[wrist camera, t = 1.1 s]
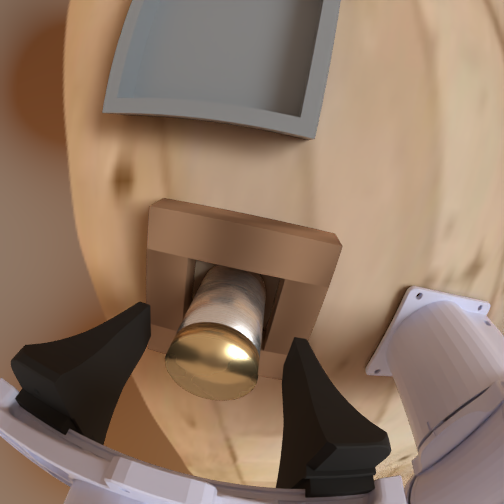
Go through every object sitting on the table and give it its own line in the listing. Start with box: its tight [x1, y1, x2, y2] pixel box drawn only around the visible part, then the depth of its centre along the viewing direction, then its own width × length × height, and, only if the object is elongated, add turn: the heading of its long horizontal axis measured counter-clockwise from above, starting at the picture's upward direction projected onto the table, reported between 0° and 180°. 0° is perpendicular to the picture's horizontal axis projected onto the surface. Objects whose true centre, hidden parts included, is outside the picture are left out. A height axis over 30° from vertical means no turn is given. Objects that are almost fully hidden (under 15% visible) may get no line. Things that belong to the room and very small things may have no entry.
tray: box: [102, 0, 341, 140], centre depth 10 cm, size 11×11×2 cm
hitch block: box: [146, 198, 342, 380], centre depth 16 cm, size 10×10×2 cm
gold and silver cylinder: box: [165, 265, 266, 401], centre depth 14 cm, size 4×4×7 cm
